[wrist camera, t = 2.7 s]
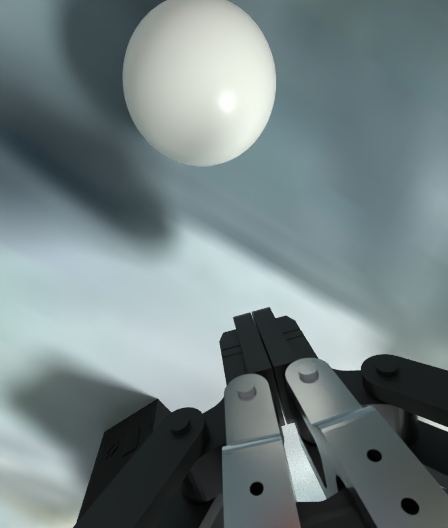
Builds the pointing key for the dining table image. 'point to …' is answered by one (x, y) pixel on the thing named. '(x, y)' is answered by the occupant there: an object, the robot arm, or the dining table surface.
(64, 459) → the dining table surface
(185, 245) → the dining table surface
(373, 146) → the dining table surface
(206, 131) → the cue ball
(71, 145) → the dining table surface
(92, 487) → the digital camera
